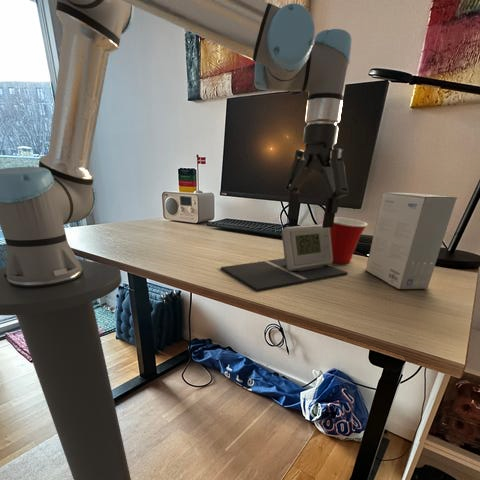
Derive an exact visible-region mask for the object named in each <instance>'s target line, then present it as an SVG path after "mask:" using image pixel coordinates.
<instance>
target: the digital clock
mask: <svg viewBox="0 0 480 480" xmlns="http://www.w3.org/2000/svg"><path fill="white" fill-rule="evenodd" d="M322 226H323V223H322V224H316V223H315V224H305V225H304V224H303V225H294V226H287V227H284V228H282V230H281V241H282V248H283V255H284V257H283V259H284V265H285V266H286V268H287V270H288V271H295V270H298V271H302V270H307V269H313V268H319V267H323V266H324V265H329V266H331V264H333V263H334V262H333V254H332V245H331V236H330V228H323V227H322Z"/></svg>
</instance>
